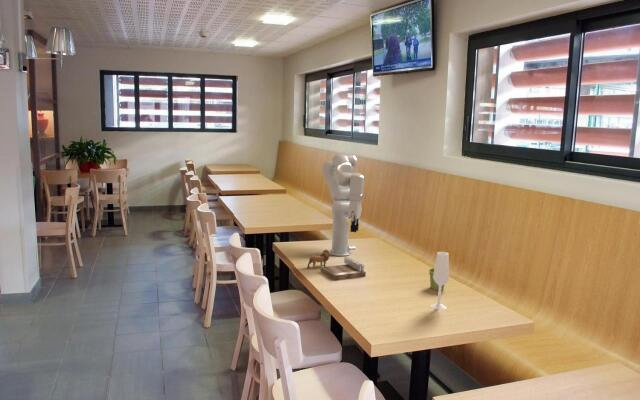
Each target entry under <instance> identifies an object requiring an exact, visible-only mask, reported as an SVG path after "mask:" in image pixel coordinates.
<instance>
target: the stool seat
mask: <svg viewBox="0 0 640 400" xmlns="http://www.w3.org/2000/svg"><path fill="white" fill-rule="evenodd" d="M366 272H367V271H365V270H364V271H358V270H356V269H354V268H352V267H351V266H349V265H347V264H339V265H330V266H326V267H324V266H320V273H322V274H323V275H325V276H326V277H328V278H330V279H332V280H333V281H340V280H348V279H356V278H363V277H365V278H366V276H367V275H366V274H367V273H366Z"/></svg>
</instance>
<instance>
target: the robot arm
mask: <svg viewBox="0 0 640 400" xmlns="http://www.w3.org/2000/svg"><path fill="white" fill-rule="evenodd" d="M357 164H358V160H357V157H356V155H354V154H353V153H337V154H335V155H333V157H332V159H331V160H326V161H324V163H322V166H321V170H322V172H321V173H322V176H323V179H324V181H325V182H326V184H327V187H328V190H329V194H330V197H331V200H332V202H333V203H332V204H331V213H332V215H331V216H332V231H331V233H332V234H331V235H332V236H331V249H329V252H330V256H335V257H348V256H350V255H351V251H353V250H356V246H350V245H349V232H351V233H357V231H359V223H360V218H361V217H362V216H361V215H362V211H363V209H362V202H363V201H364V189H365V188H364V187H365V176H364V175H363V174H362V173H360V172H353V171H354V169H355V168H356V167H357ZM346 218H348V220H350V224H349V222H348V220H347V219H346ZM349 229H350V230H349Z"/></svg>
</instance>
